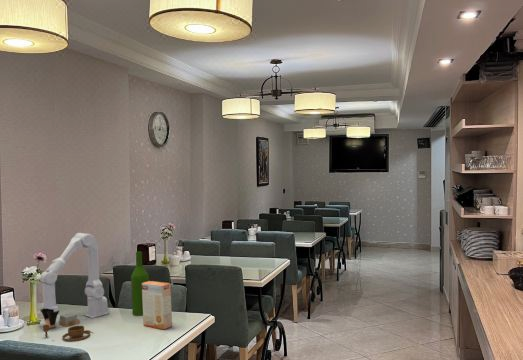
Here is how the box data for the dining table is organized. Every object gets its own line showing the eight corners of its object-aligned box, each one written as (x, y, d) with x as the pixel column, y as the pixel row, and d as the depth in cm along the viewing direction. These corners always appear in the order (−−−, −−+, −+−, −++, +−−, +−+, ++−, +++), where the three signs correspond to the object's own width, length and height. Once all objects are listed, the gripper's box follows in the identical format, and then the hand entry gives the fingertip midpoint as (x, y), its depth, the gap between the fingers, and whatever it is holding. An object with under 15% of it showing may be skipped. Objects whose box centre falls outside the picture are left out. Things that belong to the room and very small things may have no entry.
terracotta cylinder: (52, 324, 244) (52, 316, 244) (57, 326, 241) (56, 318, 241) (44, 327, 241) (43, 319, 241) (48, 328, 238) (47, 320, 238)
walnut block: (72, 322, 250) (72, 317, 250) (79, 324, 245) (79, 319, 245) (59, 325, 245) (59, 320, 245) (66, 328, 240) (65, 323, 240)
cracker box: (172, 326, 235) (171, 282, 234) (163, 330, 230) (161, 285, 229) (152, 322, 243) (150, 280, 242) (143, 325, 238) (141, 282, 237)
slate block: (71, 317, 249) (71, 312, 249) (77, 319, 245) (77, 314, 245) (60, 320, 245) (59, 315, 245) (66, 322, 241) (65, 317, 241)
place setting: (66, 346, 214) (65, 333, 214) (40, 339, 226) (40, 326, 225) (100, 335, 228) (100, 322, 228) (74, 328, 240) (74, 316, 240)
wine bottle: (144, 310, 265) (141, 249, 265) (153, 313, 259) (150, 251, 258) (129, 314, 259) (126, 252, 258) (138, 317, 253) (135, 253, 252)
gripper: (34, 295, 243) (35, 323, 243) (47, 300, 233) (49, 328, 233) (48, 292, 248) (49, 319, 248) (62, 296, 238) (63, 324, 238)
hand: (50, 323), depth 241 cm, fingers closed on terracotta cylinder, 4 cm apart
